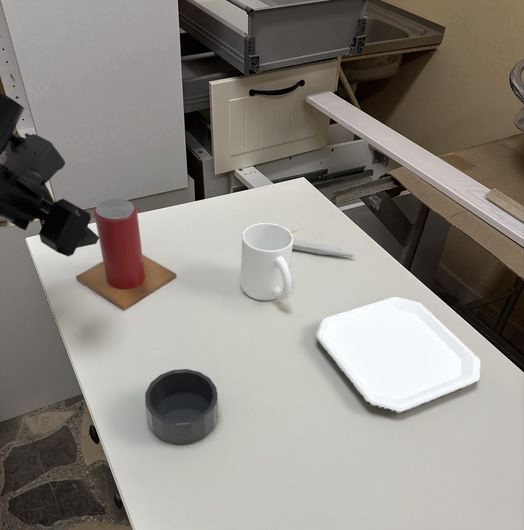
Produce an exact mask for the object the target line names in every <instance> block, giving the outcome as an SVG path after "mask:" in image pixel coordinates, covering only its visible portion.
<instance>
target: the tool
mask: <svg viewBox="0 0 524 530" xmlns="http://www.w3.org/2000/svg"><path fill="white" fill-rule="evenodd" d="M292 250H296V251H301V252H307V253H313V254H318V255H325V256H335V257H350V258H352V257H355V256H356V255H355V254H354V253H353V252H350V251H347V250H343V249H340V248H336V247H333V246H329V245H326V244H321V243H316V242H311V241H305V240H300V239H294V238H293V247H292Z"/></svg>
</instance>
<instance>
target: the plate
mask: <svg viewBox="0 0 524 530" xmlns="http://www.w3.org/2000/svg"><path fill="white" fill-rule="evenodd" d="M315 337H316V340H317V341H318V343H319V344H320V345H321V346H322V348H323V350H325V351H326V353H327V354H328V356H330V358H331V359H332V360H333V362H334V363H335V364H336V365H337V367H338V368H339V369H340V370H341V372H342V373H343V374H344V375H345V376H346V378H347V380H348V381H349V382H350V383H351V384H352V385H353V387H354V388H355V389H356V391H357V392H358V393H359V394H360V395H361V397H362V398H363V399H364V401H365V402H366V403H367V404H368V405H370V406H373V407H376V408H380V409H384V410H387V411H390V412H393V413H397V414H401V413H405V412H408V411H410V410H412V409H415V408H417V407H419V406H422V405H424V404H427V403H430V402H432V401H434V400H437V399H440V398H442V397H444V396H447V395H449V394H452V393H454V392H457V391H460V390H462V389H464V388H467V387H469V386H471V385H474V384H476V383H478V382H479V381H480V379H481V363H482V362H481V360H480V358H479V357H478V356H477V355H476V354H475V353H474V352H473V351H472V350H471V349H470V348H469V347H468V346H466V345H465V343H464V342H462V341H461V340H460V339H459V338H458V337H457V336H456V335H455V334H454V333H453V332H452V331H451V330H450V329H449V328H448V327H446V325H444V323H443V322H441V321H440V320H439V319H438V318H437V317H436V316H435V315H434V314H433V313H432V312H431V311H430V310H428V308H427V307H426V306H424V304H423V303H420V302H419V301H417V300H416V301H415V300H412V299H407V298H404V297H399V296H392V297H389V298H385V299H382V300H378V301H375V302H373V303H369V304H365V305H363V306H359V307H356V308H353V309H349V310H346V311H343V312H339V313H336V314H333V315H329V316H326V317H324V318H322V319H321V321H320V324H319V326H318V329H317V331H316V334H315Z"/></svg>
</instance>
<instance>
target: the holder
mask: <svg viewBox="0 0 524 530" xmlns="http://www.w3.org/2000/svg"><path fill="white" fill-rule="evenodd" d="M218 398H219V397H218V390H217V386H216V385H215V383H214V382H213V381H212V379H211V378H210V377H209V376H207V375H206V374H204V373H202V372H201V371H198V370H193V369H188V368H181V369H172V370H170V371H166V372H163V373H160V374H159V375H158V376H157V377H156V378H155V379H153V380H152V381H151V382H150V383H149V385H148V387H147V389H146V391H145V394H144V404H145V410H146V411H145V413H146V418H147V424H148V425H149V428H150V430H151V432H152V434H154V435H155V437H157V438H158V439H159V440H161V441H162V442H165V443H167V444H171V445H176V446H187V445H192V444H196V443H198V442H200V441H202V440H204V439H205V438H207V436H209V435H210V434H211V432H212V431H213V430H214V429H215V427H216V424H217V421H218V415H219V413H218V412H219V410H218V409H219V405H218V404H219V399H218Z"/></svg>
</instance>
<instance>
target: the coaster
mask: <svg viewBox="0 0 524 530" xmlns="http://www.w3.org/2000/svg"><path fill="white" fill-rule="evenodd" d="M142 256H143V265H144V273H145V279H144V281H143V282H142V283H141V284H140V285H139V286H137V287H134V288H131V289H117V288H114V287H112V286H110V285H109V284H108V282H107V279H106V273H105V268H104V263H103V261H101V262H99V263H97V264H95V265H94V266H92V267H90V268H88V269H86V270H84V271H82V272H81V273H79V274H77V275H76V276H75V279H76V281H78V282H79V283H81V284H82V285H84V286H85V287H87V288H88V289H89V290H91V291H93V292H94V293H96V294H98V295H99V296H100V297H102V298H104V299H106V300H107V301H109V302H110V303H112V304H113V305H115V306H116V307H117V308H120V309H121V310H122V311H126V310H127V309H129V308H130V307H132V306H134V305H135V304H137V303H139V302H140V301H141V300H143V299H145V298H146V297H149V296H150V295H151V294H153V293H154V292H156V291H157V290H159V289H161V288H162V287H164V286H165V285H167V284H169V283H170V282H172V281H173V280H175V279H176V278H177V273H176V272H174V271H172V270H170V269H169V268H167V267H166V266H163V265H162V264H160V263H159V262H157V261H155V260H154V259H151V258H149V257H147V256H146V255H144V254H143V253H142Z"/></svg>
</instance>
